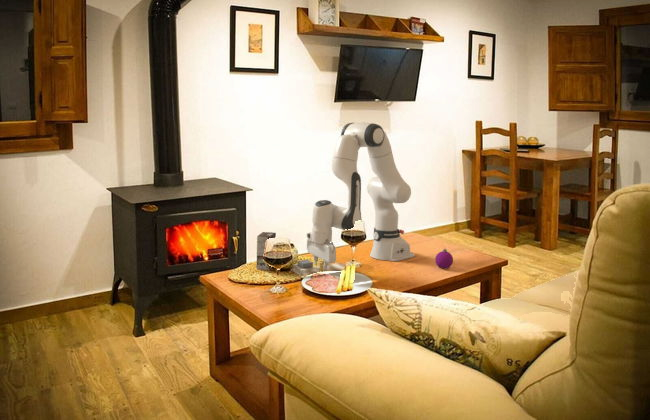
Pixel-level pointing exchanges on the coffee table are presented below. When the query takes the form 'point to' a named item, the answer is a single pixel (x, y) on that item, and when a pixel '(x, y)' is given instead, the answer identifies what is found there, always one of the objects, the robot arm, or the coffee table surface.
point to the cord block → (309, 264)
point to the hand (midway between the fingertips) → (320, 267)
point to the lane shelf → (316, 269)
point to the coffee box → (260, 249)
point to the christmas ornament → (444, 259)
